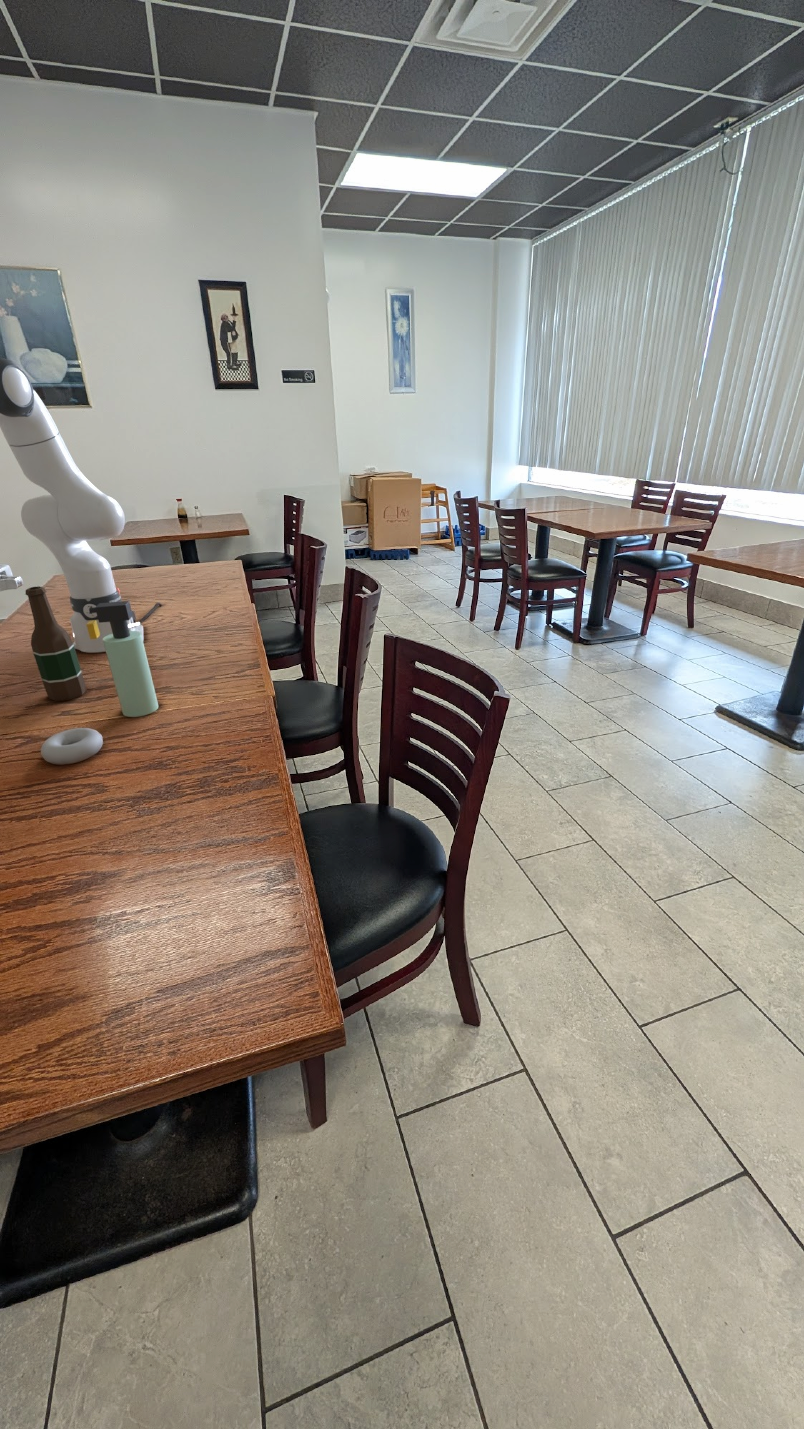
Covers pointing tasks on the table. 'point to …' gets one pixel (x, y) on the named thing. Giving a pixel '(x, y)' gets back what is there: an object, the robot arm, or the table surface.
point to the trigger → (93, 629)
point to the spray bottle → (127, 660)
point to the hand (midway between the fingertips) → (19, 582)
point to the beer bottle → (54, 651)
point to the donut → (71, 746)
